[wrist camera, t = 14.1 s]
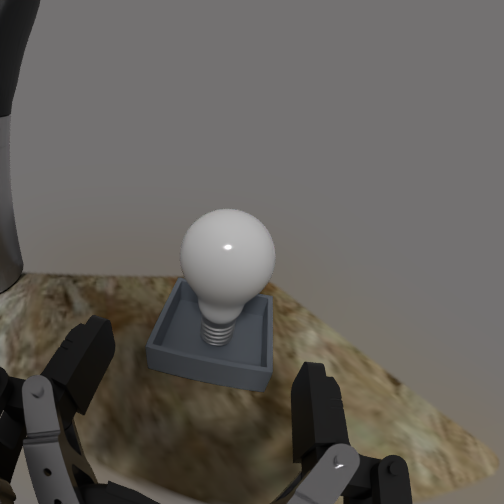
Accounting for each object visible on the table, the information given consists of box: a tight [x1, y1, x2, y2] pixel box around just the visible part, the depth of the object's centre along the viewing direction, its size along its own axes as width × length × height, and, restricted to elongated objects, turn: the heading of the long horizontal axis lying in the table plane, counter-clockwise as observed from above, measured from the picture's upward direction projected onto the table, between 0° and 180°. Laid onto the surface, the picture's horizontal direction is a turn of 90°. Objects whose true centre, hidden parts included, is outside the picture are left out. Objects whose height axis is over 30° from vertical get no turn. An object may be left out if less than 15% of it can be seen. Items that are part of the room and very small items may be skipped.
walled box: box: [145, 278, 273, 392], centre depth 21 cm, size 9×9×3 cm
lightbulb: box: [180, 209, 276, 346], centre depth 19 cm, size 6×6×11 cm
